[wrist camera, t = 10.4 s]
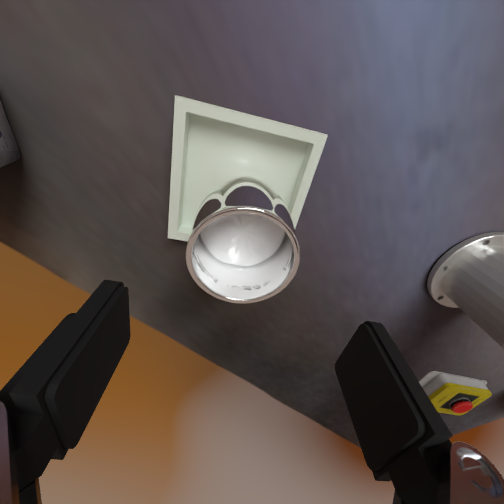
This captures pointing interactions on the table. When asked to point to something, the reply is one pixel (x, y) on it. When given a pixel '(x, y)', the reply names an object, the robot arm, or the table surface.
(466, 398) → the emergency button
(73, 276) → the table surface
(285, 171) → the sage tray
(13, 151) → the juice carton
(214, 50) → the table surface
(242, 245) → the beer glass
